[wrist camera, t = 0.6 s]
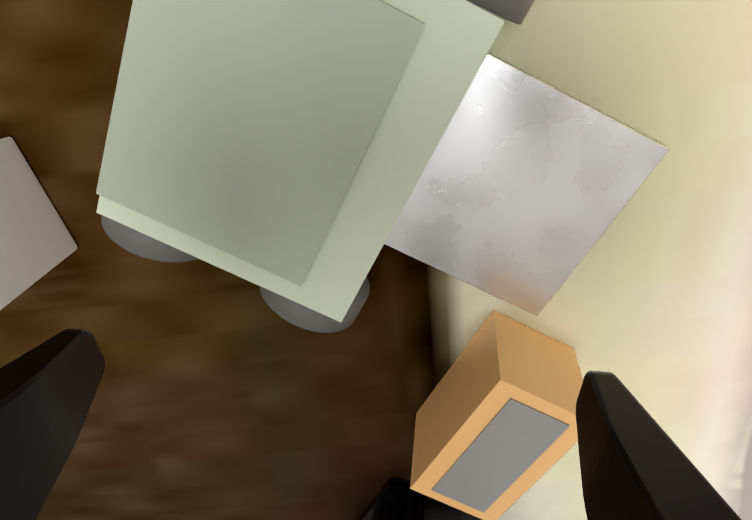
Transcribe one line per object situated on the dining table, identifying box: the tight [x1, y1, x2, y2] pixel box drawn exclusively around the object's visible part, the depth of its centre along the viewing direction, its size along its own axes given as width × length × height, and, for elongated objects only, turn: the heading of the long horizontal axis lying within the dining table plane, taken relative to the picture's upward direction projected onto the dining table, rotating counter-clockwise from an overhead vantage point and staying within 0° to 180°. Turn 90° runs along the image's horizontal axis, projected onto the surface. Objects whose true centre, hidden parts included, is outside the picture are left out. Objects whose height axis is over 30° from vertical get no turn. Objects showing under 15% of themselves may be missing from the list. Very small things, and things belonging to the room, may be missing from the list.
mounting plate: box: [384, 53, 669, 316], centre depth 23 cm, size 9×8×1 cm
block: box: [410, 310, 583, 520], centre depth 26 cm, size 8×4×5 cm, turn 155°
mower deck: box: [96, 0, 534, 333], centre depth 20 cm, size 15×12×5 cm
